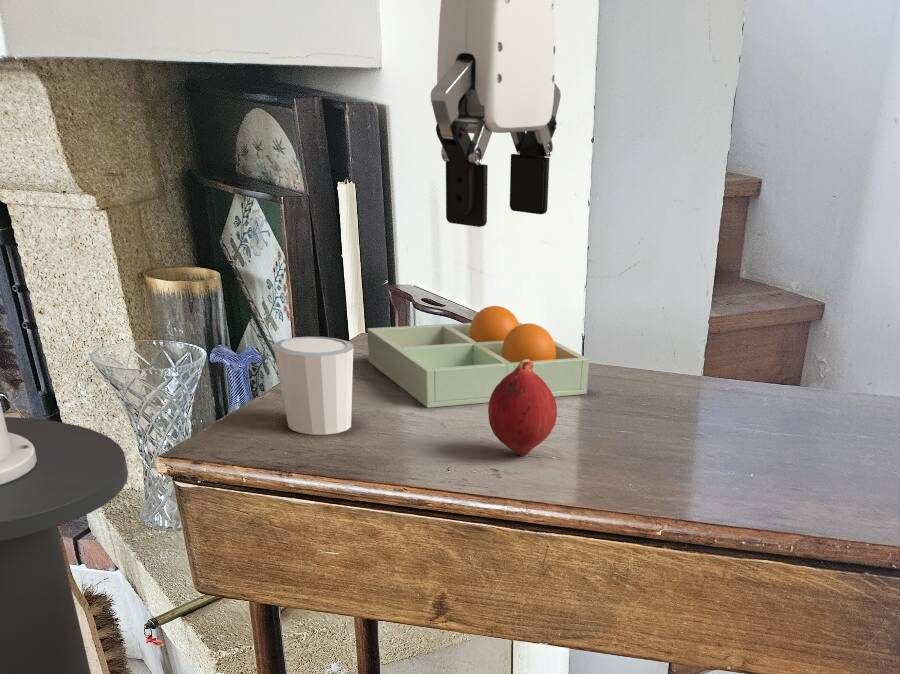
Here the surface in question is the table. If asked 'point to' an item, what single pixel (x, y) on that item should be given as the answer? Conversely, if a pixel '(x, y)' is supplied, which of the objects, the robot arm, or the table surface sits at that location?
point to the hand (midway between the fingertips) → (498, 218)
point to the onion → (522, 409)
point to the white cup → (316, 383)
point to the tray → (462, 364)
